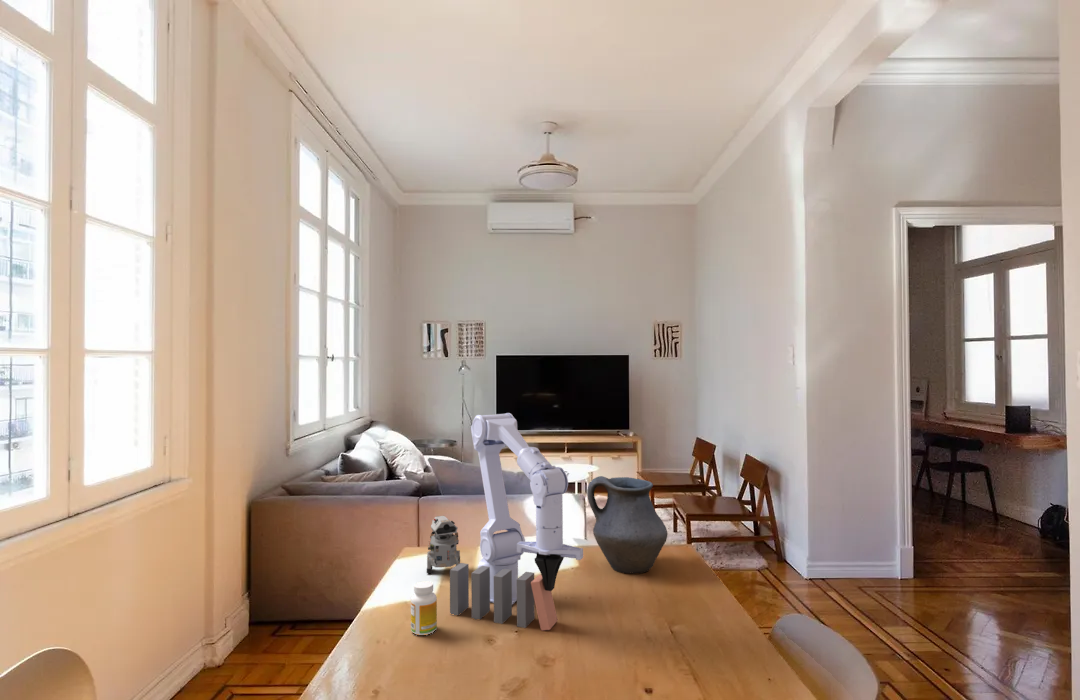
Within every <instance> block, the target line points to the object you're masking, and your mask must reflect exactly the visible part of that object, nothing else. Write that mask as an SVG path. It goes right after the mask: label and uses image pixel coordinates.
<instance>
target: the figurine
mask: <svg viewBox="0 0 1080 700" xmlns="http://www.w3.org/2000/svg"><path fill="white" fill-rule="evenodd" d="M431 521H432V522H431V525H430V529H431V530H432V531H431V533H430V534H429V536H430V537H429V538H430V539H429V541H428V544H427V550H428V551H427V554H426V555H427V556H426V558H427V559H426V566H427V567H426V574H427V573H431V574H432V572H433V567H434V568H450V567H452V566H453V567H454V566H457V565H458V564H460V563H461V551H460V550H457V545H459V541H460V540H459V532H458V526H456V523H455V522H454V521H453V520H450V519H448V517H446V516H445V515H437V516H434V518H433V519H432V520H431Z"/></svg>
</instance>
